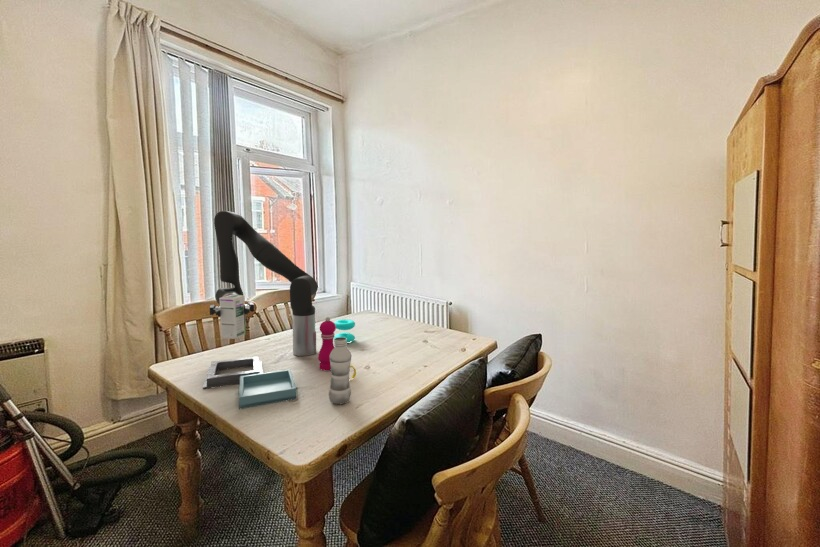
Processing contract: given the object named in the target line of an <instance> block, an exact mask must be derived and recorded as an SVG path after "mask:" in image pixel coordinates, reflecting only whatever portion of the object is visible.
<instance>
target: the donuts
mask: <svg viewBox="0 0 820 547" xmlns="http://www.w3.org/2000/svg"><path fill="white" fill-rule="evenodd" d="M334 323H335V325H336V330H339V331H349V330H352V329H353V328H355V326H356V323H355V321H354V320H352V319H347V318H346V319H337V320H335V321H334ZM338 337H344V338H346V339H347V342H350V341H353V340H354V339H355V340H356V337H355V335H354V334H353V333H351V332H340V333H337V334H335V335H334V338H333V340H334V339H335V338H338ZM355 340H354V341H355ZM354 341H353V342H354Z"/></svg>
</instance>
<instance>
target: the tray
mask: <svg viewBox="0 0 820 547" xmlns="http://www.w3.org/2000/svg"><path fill="white" fill-rule="evenodd" d="M238 390H239V391H238V409H239V410H240V408H242V409H247V408H253V407H257V406H263V405H270V404H276V403H281V402H286V400H287V401H292V400H297V399H298V398H297V385H296V381H295V378H294V374H293V371H292V369H291V368H288V369H283V370H282V369H281V370H280V369H279V370H274V371H268V372H263V373H259V374H252V375H244V376H240V384H239V389H238ZM296 398H297V399H296ZM291 399H292V400H291Z"/></svg>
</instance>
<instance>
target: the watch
mask: <svg viewBox="0 0 820 547" xmlns="http://www.w3.org/2000/svg"><path fill="white" fill-rule="evenodd" d="M350 368H352V369H353V374H352V376H351V377H352V378H354V379H355V378H356V375H357V371H356V368H355V367H354V365H352V363H350Z"/></svg>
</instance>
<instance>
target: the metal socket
mask: <svg viewBox="0 0 820 547" xmlns="http://www.w3.org/2000/svg"><path fill="white" fill-rule="evenodd" d="M249 367H252V368H253V369H252V370H251V369H250V370H245V371H243V370H242V371H237V372H231V373H223V374H218V371H224V370H225V371H226V370H232V369H240V368H249ZM259 373H264V372H263V361H262V360H260V356H259V355H256V356H249V357H240V358H239V357H238V358H231V359H223V360H215V361H211V363H210V366H209V367H208V369H207V373H206V376H205V380H204V383H203V386H202V389H203V388H208V389H212V388H211V387H215V388H220V386H221V387H226V386H233V385H234V386H235V385H240V376H244V375H252V374H259Z"/></svg>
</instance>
